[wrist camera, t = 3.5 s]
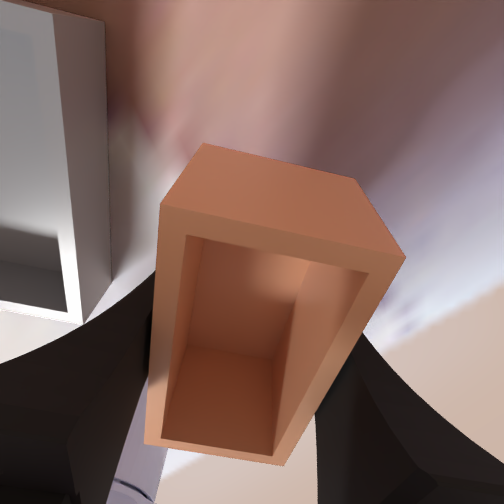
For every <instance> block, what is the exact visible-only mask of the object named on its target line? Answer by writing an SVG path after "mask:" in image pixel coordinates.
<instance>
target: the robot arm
mask: <svg viewBox="0 0 504 504" xmlns="http://www.w3.org/2000/svg"><path fill="white" fill-rule="evenodd" d="M155 272H156V270H155V271H154V272H153V273H152V274H151V275H150V276H149V277H148V278H147V279H146V280H144V281H143V282H142V283H141V284H140V285H139V286H137V287H136V288H135V289H134V290H133V291H131V292H130V293H129V294H128V295H126V296H125V297H124V298H122V299H121V300H120V301H118V302H117V303H116V304H114V305H113V306H112V307H110V308H109V309H107V310H106V311H104V312H103V313H101V314H100V315H98V316H97V317H95V318H94V319H92V320H90V321H89V322H87V323H86V324H84V325H82V326H80V327H79V328H77V329H75V330H73V331H71V332H70V333H68V334H66V335H64V336H62V337H60V338H58V339H56V340H54V341H52V342H50V343H48V344H46V345H44V346H42V347H39V348H37V349H35V350H33V351H31V352H28V353H26V354H24V355H21V356H19V357H17V358H14V359H12V360H9V361H7V362H4V363H1V364H0V504H155V503H154V501H155V497H156V493H157V489H158V486H159V482H160V478H161V474H162V470H163V466H164V462H165V458H166V454H167V450H168V448H166V447H159V446H153V445H147V444H144V432H145V418H146V403H147V389H148V374H149V359H150V345H151V330H152V316H153V301H154V286H155ZM315 424H316V445H317V478H318V504H504V464H503V463H502V462H501V461H499V460H498V459H496V458H495V457H494V456H492V455H491V454H490V453H488V452H487V451H486V450H484V449H483V448H481V447H480V446H479V445H477V444H476V443H474V442H473V441H472V440H470V439H469V438H468V437H467V436H465V435H464V434H463V433H462V432H460V431H459V430H458V429H457V428H455V427H454V426H453V425H452V424H450V423H449V422H448V421H447V420H446V419H444V418H443V417H442V416H441V415H440V414H438V413H437V412H436V411H435V410H434V409H433V408H432V407H431V406H429V405H428V404H427V403H426V402H425V401H424V400H423V399H422V398H421V397H420V396H419V395H417V394H416V393H415V392H414V391H413V390H412V389H411V388H410V387H409V386H408V385H407V384H406V383H405V382H404V381H403V380H402V379H401V378H400V376H399V375H397V373H396V372H395V371H394V370H393V369H392V368H391V367H390V366H389V365H388V363H387V362H386V361H385V360H384V359H383V358H382V356H381V355H380V354H379V353H378V352H377V350H376V349H375V348H374V347H373V345H372V344H371V343H370V342H369V340H368V339H367V338H366V336H365V335H364V334H363V332H362V334H361V335H360V337H359V339H358V340H357V342H356V344H355V346H354V347H353V349H352V351H351V352H350V354H349V356H348V357H347V359H346V361H345V363H344V364H343V366H342V368H341V369H340V371H339V373H338V375H337V376H336V378H335V380H334V381H333V383H332V385H331V386H330V388H329V390H328V392H327V393H326V395H325V397H324V398H323V400H322V402H321V403H320V405H319V407H318V409H317V410H316V412H315Z"/></svg>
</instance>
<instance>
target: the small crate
mask: <svg viewBox="0 0 504 504" xmlns="http://www.w3.org/2000/svg"><path fill="white" fill-rule="evenodd" d="M405 259H406V256H405V255H404V253H403V252H402V250H401V249H400V247H399V246H398V244H397V242H396V241H395V239H394V238H393V236H392V235H391V233H390V232H389V230H388V229H387V227H386V226H385V224H384V223H383V221H382V219H381V218H380V216H379V215H378V213H377V212H376V210H375V209H374V207H373V206H372V204H371V203H370V201H369V199H368V198H367V196H366V195H365V193H364V192H363V190H362V189H361V187H360V186H359V184H358V183H357V181H356V180H355V179H354V178H350V177H346V176H341V175H337V174H333V173H329V172H325V171H320V170H316V169H312V168H308V167H303V166H299V165H295V164H291V163H286V162H282V161H278V160H274V159H269V158H265V157H261V156H257V155H253V154H248V153H244V152H240V151H236V150H231V149H227V148H223V147H219V146H214V145H210V144H206V143H203V144H202V145H201V146H200V148H199V149H198V151H197V152H196V153H195V155H194V156H193V158H192V159H191V161H190V162H189V163H188V165H187V166H186V168H185V169H184V170H183V172H182V173H181V175H180V176H179V178H178V179H177V180H176V182H175V183H174V185H173V186H172V188H171V189H170V190H169V192H168V193H167V195H166V196H165V197H164V199H163V200H162V202H161V203H160V213H159V228H158V243H157V257H156V272H155V286H154V301H153V316H152V330H151V345H150V359H149V374H148V389H147V403H146V418H145V432H144V444H147V445H153V446H159V447H166V448H172V449H178V450H184V451H191V452H197V453H203V454H210V455H216V456H222V457H228V458H235V459H242V460H247V461H254V462H260V463H266V464H272V465H279V466H284V465H285V463H286V461H287V460H288V458H289V456H290V454H291V453H292V451H293V449H294V448H295V446H296V444H297V443H298V441H299V439H300V437H301V436H302V434H303V432H304V431H305V429H306V427H307V425H308V424H309V422H310V420H311V419H312V417H313V415H314V414H315V412H316V410H317V409H318V407H319V405H320V403H321V402H322V400H323V398H324V397H325V395H326V393H327V392H328V390H329V388H330V386H331V385H332V383H333V381H334V380H335V378H336V376H337V375H338V373H339V371H340V369H341V368H342V366H343V364H344V363H345V361H346V359H347V357H348V356H349V354H350V352H351V351H352V349H353V347H354V346H355V344H356V342H357V340H358V339H359V337H360V335H361V334H362V332H363V330H364V329H365V327H366V325H367V323H368V322H369V320H370V318H371V317H372V315H373V313H374V312H375V310H376V308H377V306H378V305H379V303H380V301H381V300H382V298H383V296H384V295H385V293H386V291H387V289H388V288H389V286H390V284H391V283H392V281H393V279H394V278H395V276H396V274H397V272H398V271H399V269H400V267H401V266H402V264H403V262H404V260H405Z"/></svg>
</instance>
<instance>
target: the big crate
mask: <svg viewBox="0 0 504 504" xmlns="http://www.w3.org/2000/svg"><path fill="white" fill-rule="evenodd" d="M111 283H112V277H111V240H110V202H109V165H108V127H107V90H106V52H105V22H104V21H100V20H96V19H92V18H89V17H85V16H81V15H77V14H73V13H69V12H65V11H62V10H58V9H54V8H50V7H46V6H42V5H38V4H35V3H31V2H27V1H23V0H0V310H4V311H9V312H15V313H20V314H25V315H31V316H36V317H41V318H47V319H52V320H57V321H63V322H68V323H74V324H79V325H84V323H85V322H86V320H87V319H88V317H89V316H90V314H91V313H92V311H93V310H94V308H95V307H96V305H97V304H98V302H99V301H100V299H101V298H102V296H103V295H104V293H105V292H106V291H107V289H108V288H109V286H110V285H111Z"/></svg>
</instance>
